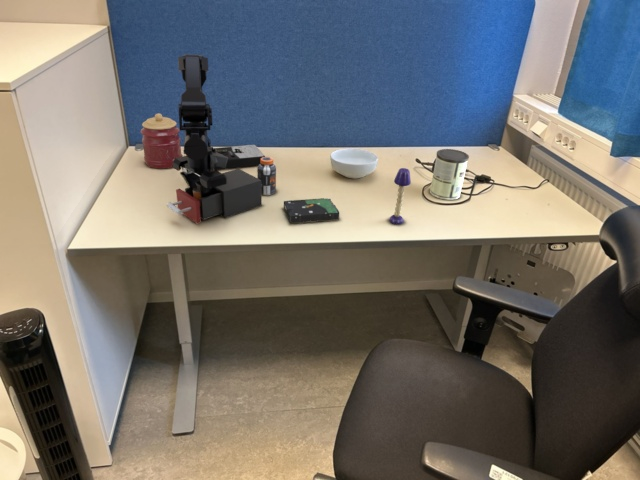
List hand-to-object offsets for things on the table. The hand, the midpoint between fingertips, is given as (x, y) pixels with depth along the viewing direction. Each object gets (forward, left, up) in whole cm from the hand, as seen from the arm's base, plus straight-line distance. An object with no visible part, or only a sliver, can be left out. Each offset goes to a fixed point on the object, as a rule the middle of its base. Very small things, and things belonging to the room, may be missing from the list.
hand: (201, 199), depth 134 cm
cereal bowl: (+34, +48, -5) cm, 59 cm away
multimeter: (-9, +42, -5) cm, 43 cm away
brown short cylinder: (0, 0, -1) cm, 1 cm away
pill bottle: (+11, +22, -5) cm, 25 cm away
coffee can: (+67, +44, -5) cm, 81 cm away
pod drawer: (0, -1, -4) cm, 4 cm away
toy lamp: (+54, +17, -5) cm, 57 cm away
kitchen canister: (-32, +31, -5) cm, 45 cm away
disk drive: (+29, +12, -5) cm, 32 cm away
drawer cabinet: (+5, +9, -5) cm, 12 cm away
